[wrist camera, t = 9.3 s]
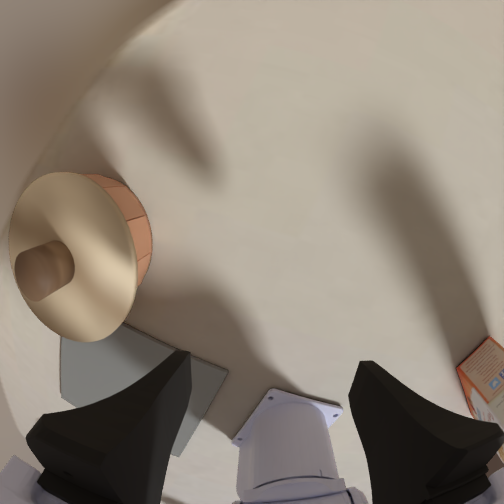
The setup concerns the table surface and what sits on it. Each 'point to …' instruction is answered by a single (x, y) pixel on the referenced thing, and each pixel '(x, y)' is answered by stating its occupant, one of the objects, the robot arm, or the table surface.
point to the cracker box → (485, 384)
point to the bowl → (130, 219)
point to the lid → (73, 256)
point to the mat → (131, 373)
